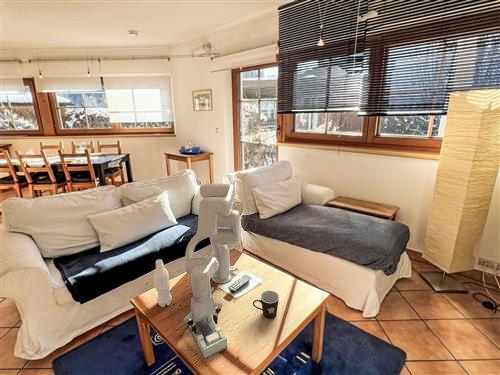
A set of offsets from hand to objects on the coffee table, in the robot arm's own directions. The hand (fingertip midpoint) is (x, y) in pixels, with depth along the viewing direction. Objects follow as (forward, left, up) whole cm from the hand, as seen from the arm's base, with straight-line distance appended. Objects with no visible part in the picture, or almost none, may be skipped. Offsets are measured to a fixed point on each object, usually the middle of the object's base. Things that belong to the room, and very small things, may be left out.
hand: (205, 326), depth 117 cm
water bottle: (+10, -28, -4) cm, 31 cm away
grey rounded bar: (0, 0, -3) cm, 3 cm away
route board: (0, +2, -4) cm, 4 cm away
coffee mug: (-30, +4, -4) cm, 30 cm away
